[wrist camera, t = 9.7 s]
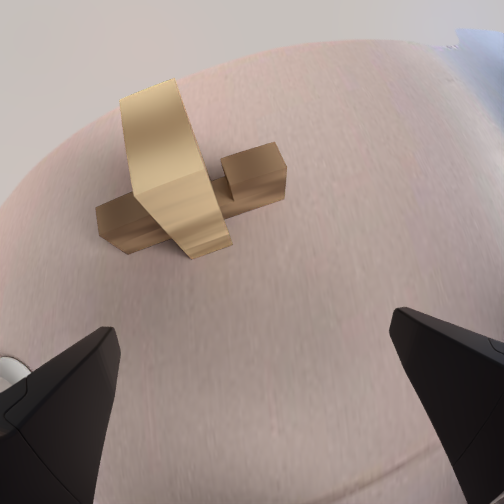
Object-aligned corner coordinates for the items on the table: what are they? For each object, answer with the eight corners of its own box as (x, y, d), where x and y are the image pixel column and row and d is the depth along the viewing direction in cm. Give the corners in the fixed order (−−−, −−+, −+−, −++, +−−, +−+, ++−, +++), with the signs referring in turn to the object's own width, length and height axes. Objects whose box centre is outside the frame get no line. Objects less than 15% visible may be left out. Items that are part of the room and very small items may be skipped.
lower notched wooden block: (274, 176, 23) (274, 141, 18) (284, 199, 22) (287, 167, 18) (123, 230, 22) (95, 207, 18) (128, 254, 22) (99, 235, 17)
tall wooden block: (232, 244, 21) (204, 169, 12) (191, 259, 21) (133, 196, 12) (208, 173, 23) (174, 77, 13) (171, 187, 23) (119, 100, 13)
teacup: (-4, 448, 17) (-35, 455, 13) (-18, 353, 20) (-52, 350, 16) (67, 473, 17) (35, 489, 13) (49, 360, 20) (10, 360, 15)
